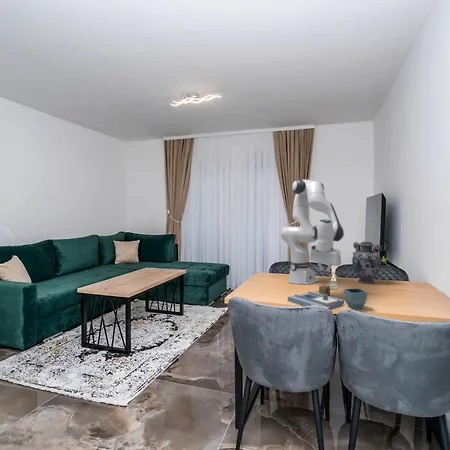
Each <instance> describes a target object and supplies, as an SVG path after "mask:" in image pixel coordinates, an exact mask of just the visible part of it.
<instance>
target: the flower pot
mask: <svg viewBox="0 0 450 450" xmlns="http://www.w3.org/2000/svg"><path fill="white" fill-rule="evenodd" d="M343 293H344V301H346V304H347V306H348V307H349V306H350V309H363V308H364V307H365V305H366V302H367V297H368V292H367V291H366V290H363V289H361V288H344V289H343Z"/></svg>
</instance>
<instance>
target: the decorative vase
mask: <svg viewBox="0 0 450 450" xmlns="http://www.w3.org/2000/svg"><path fill="white" fill-rule="evenodd" d="M352 246H353V248H354V249H355V251H354V253H353V255H352V259H351V263H352V268H353V271H354V273H355V274H356V276H357V277H358V278H359V279H358V280H357V282H358V283H360V284H369V285H370V284H374V283H375V281H374V280H373V279H375V278H376V277H377V276H378V274H380V271H381V268H382V258H381V255H380V252H381V251H382V245H381V244H376V245H375V244H374V243H373V242H370V241H361V242H360V243H359V242H358V241H354V242H353V245H352Z"/></svg>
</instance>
